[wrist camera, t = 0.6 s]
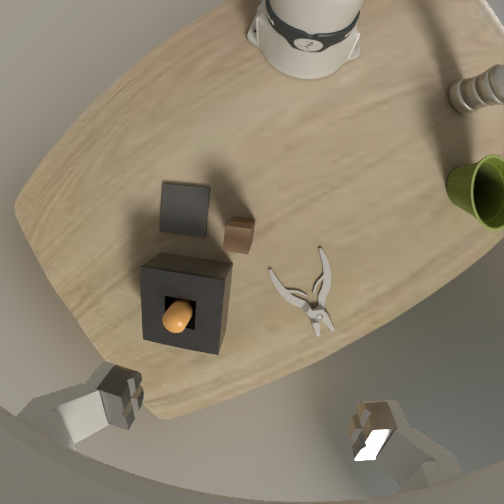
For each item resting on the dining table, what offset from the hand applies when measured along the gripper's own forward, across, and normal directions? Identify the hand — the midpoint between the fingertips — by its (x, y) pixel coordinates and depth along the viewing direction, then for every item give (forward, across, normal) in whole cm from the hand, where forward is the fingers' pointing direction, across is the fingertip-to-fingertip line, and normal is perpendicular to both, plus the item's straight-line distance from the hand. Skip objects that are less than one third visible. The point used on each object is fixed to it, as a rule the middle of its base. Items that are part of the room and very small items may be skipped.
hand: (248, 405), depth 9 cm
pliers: (+39, -9, +11) cm, 42 cm away
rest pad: (+39, +14, -1) cm, 41 cm away
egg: (+34, +12, +14) cm, 38 cm away
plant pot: (+39, -34, -13) cm, 53 cm away
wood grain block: (+39, +4, +1) cm, 39 cm away
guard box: (+39, +12, +14) cm, 43 cm away
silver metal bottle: (+39, -32, -30) cm, 58 cm away
